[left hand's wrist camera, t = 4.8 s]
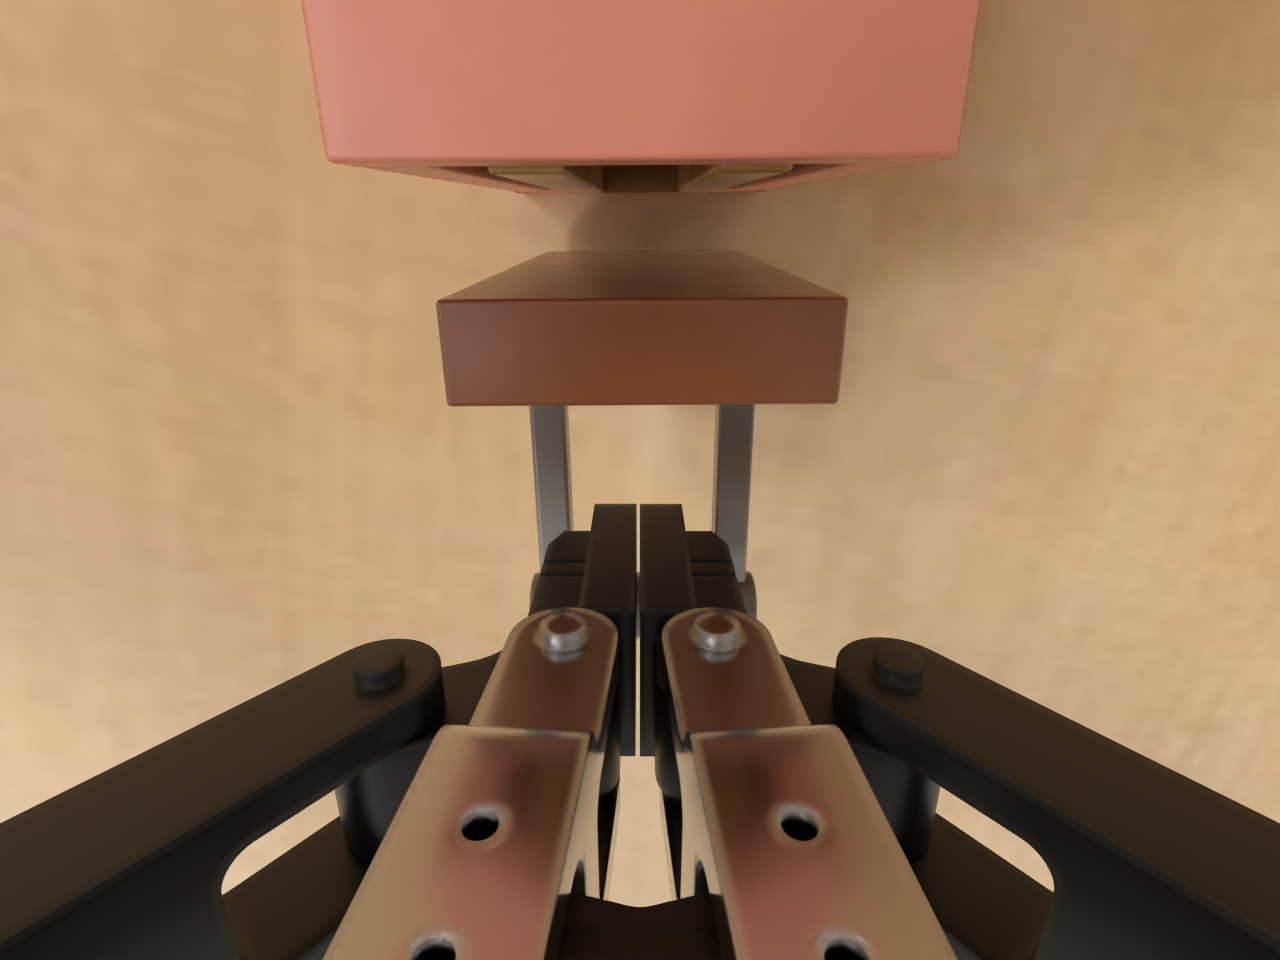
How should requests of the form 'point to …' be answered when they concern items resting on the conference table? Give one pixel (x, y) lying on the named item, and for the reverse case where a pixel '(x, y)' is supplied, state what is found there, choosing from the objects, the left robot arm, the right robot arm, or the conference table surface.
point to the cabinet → (639, 84)
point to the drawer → (643, 342)
